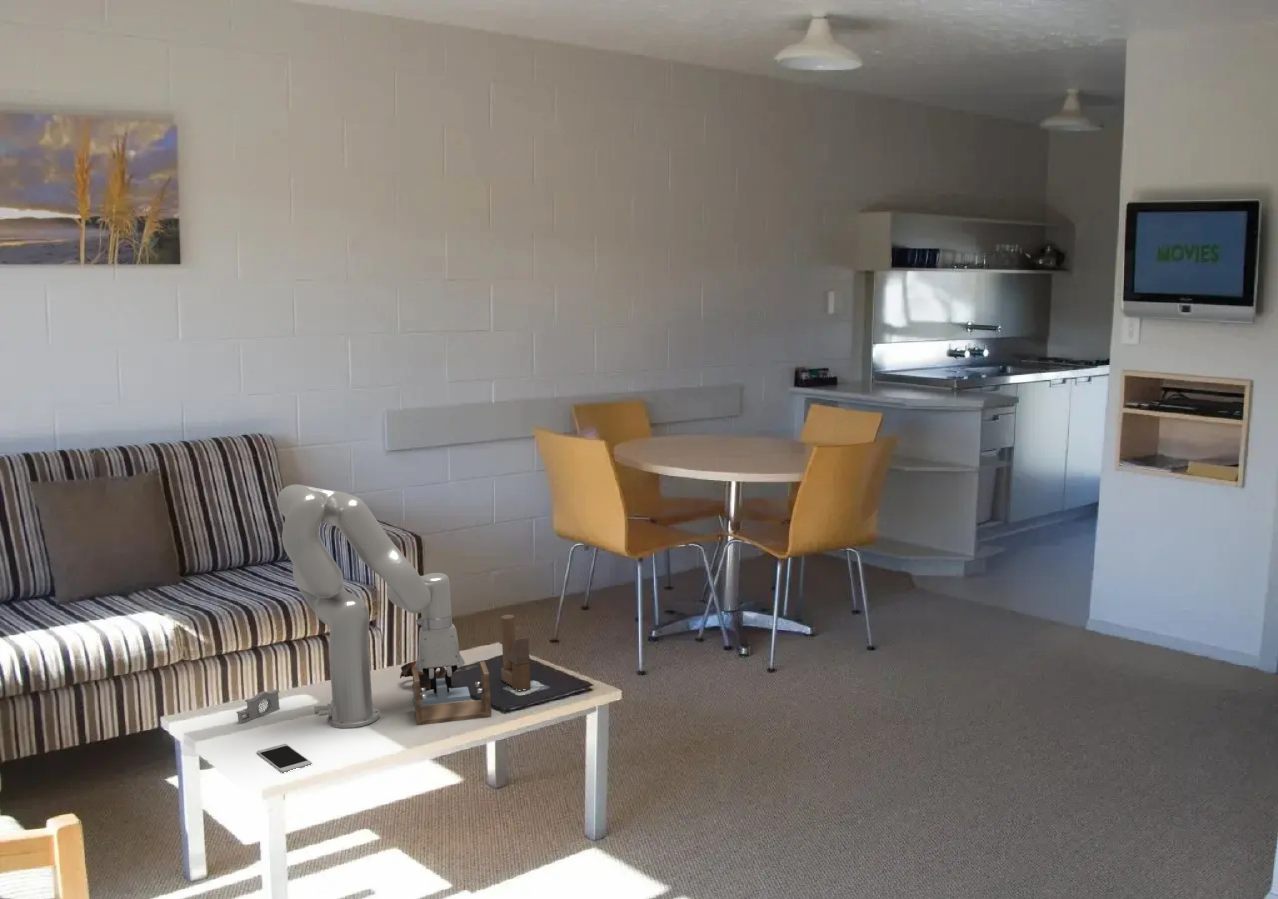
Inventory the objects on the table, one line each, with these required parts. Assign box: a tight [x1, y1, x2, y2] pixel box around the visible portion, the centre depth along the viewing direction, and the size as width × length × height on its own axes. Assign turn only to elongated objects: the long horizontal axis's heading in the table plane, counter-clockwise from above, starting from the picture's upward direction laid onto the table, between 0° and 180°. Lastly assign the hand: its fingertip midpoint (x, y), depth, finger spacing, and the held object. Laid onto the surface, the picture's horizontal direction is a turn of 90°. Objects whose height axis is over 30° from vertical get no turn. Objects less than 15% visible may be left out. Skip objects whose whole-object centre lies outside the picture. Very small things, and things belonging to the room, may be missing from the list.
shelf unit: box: [412, 660, 492, 726], centre depth 302 cm, size 18×10×11 cm, turn 103°
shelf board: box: [412, 677, 471, 706], centre depth 314 cm, size 14×7×4 cm, turn 103°
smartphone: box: [256, 743, 313, 774], centre depth 278 cm, size 7×16×1 cm, turn 39°
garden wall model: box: [236, 688, 280, 724], centre depth 305 cm, size 12×2×6 cm, turn 143°
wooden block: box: [500, 614, 531, 691], centre depth 321 cm, size 4×11×18 cm, turn 31°
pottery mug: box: [399, 660, 446, 691], centre depth 324 cm, size 12×10×8 cm
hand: (441, 690), depth 314 cm, fingers closed on shelf board, 2 cm apart
